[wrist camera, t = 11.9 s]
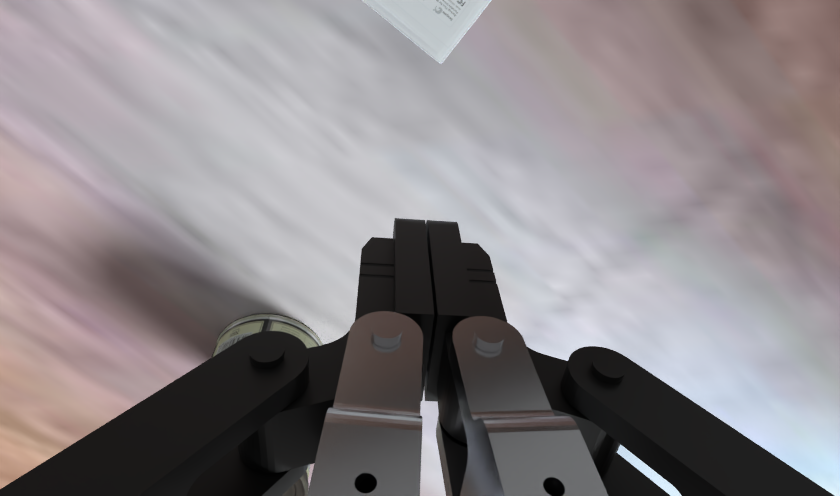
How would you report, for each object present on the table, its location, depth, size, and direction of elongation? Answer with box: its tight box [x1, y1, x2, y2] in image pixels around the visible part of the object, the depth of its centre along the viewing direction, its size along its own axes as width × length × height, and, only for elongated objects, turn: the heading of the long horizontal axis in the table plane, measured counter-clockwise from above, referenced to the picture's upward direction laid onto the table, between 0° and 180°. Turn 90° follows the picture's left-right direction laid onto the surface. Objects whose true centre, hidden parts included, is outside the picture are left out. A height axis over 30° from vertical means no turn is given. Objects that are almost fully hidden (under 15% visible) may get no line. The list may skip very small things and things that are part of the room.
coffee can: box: [212, 314, 323, 496], centre depth 45 cm, size 10×10×14 cm
